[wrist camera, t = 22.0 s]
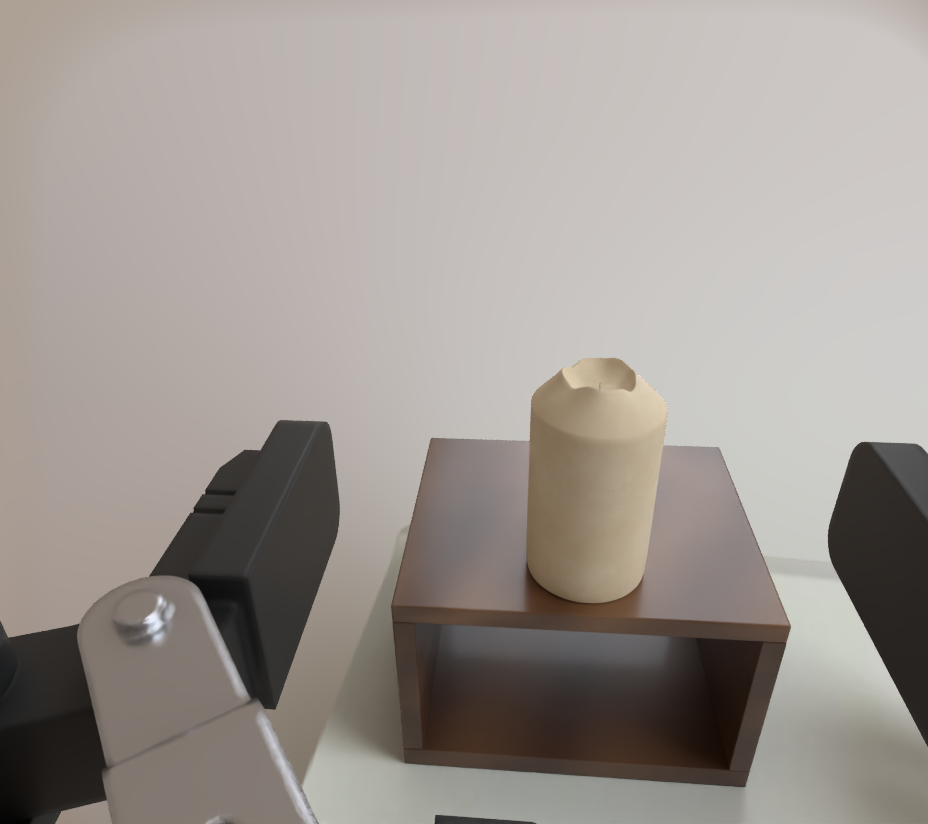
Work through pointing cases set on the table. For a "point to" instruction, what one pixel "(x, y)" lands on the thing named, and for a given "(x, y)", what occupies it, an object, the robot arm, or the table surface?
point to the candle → (593, 479)
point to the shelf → (583, 702)
